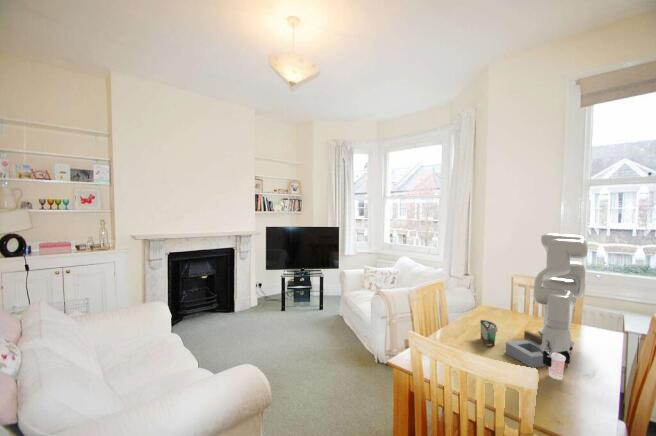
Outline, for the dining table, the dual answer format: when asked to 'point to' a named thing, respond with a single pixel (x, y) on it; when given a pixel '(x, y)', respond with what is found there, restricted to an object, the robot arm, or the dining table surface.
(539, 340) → the walnut wall
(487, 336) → the food container
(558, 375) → the beverage cup
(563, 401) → the dining table surface
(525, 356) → the socket block
